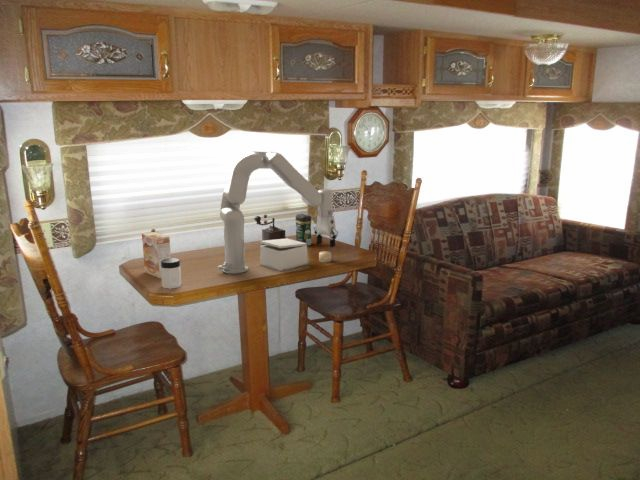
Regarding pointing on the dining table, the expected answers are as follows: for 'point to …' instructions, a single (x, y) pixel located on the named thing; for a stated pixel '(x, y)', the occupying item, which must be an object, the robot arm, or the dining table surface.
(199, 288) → the dining table surface
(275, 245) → the box lid
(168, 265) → the jar
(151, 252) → the coffeecake box
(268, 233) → the brown coffee grinder
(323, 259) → the beige egg-shaped stone
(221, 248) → the dining table surface
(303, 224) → the coffee jar
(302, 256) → the carton
